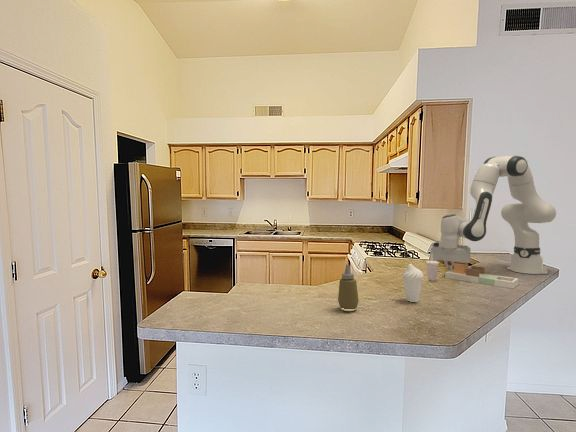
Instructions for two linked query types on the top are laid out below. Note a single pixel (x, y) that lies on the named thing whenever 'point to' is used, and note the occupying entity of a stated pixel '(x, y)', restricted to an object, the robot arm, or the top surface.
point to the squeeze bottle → (348, 290)
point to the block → (460, 267)
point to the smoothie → (432, 269)
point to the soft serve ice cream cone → (412, 283)
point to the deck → (483, 277)
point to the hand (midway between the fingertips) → (449, 269)
